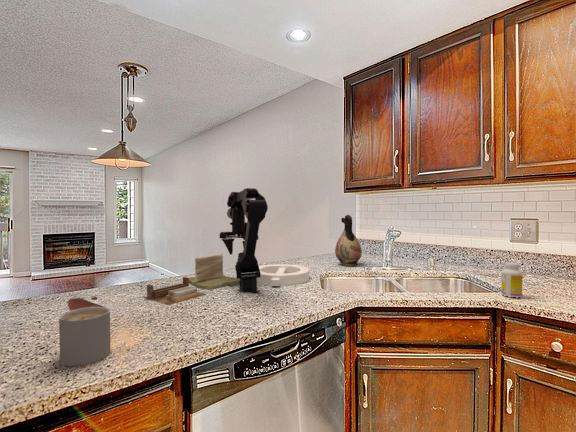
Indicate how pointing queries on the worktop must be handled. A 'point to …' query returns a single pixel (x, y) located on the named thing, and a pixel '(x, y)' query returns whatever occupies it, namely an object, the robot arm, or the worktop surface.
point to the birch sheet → (209, 267)
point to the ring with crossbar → (283, 274)
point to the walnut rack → (166, 292)
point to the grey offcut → (182, 291)
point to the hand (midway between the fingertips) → (238, 255)
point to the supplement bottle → (511, 280)
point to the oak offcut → (178, 299)
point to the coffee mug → (84, 336)
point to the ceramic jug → (348, 245)
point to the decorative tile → (215, 282)
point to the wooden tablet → (82, 303)
